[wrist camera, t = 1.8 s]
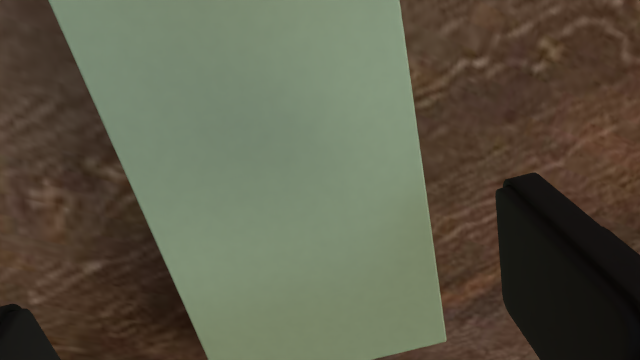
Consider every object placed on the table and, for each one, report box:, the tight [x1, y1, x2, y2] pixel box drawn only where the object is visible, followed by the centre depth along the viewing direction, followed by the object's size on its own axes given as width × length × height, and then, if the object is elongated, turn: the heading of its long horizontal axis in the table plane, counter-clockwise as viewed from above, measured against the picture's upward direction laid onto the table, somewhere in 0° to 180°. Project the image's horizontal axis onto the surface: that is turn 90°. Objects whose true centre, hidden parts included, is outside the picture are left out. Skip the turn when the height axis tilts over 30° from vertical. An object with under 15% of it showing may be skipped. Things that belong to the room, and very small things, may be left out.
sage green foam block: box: [49, 0, 446, 360], centre depth 14 cm, size 13×7×2 cm, turn 12°
